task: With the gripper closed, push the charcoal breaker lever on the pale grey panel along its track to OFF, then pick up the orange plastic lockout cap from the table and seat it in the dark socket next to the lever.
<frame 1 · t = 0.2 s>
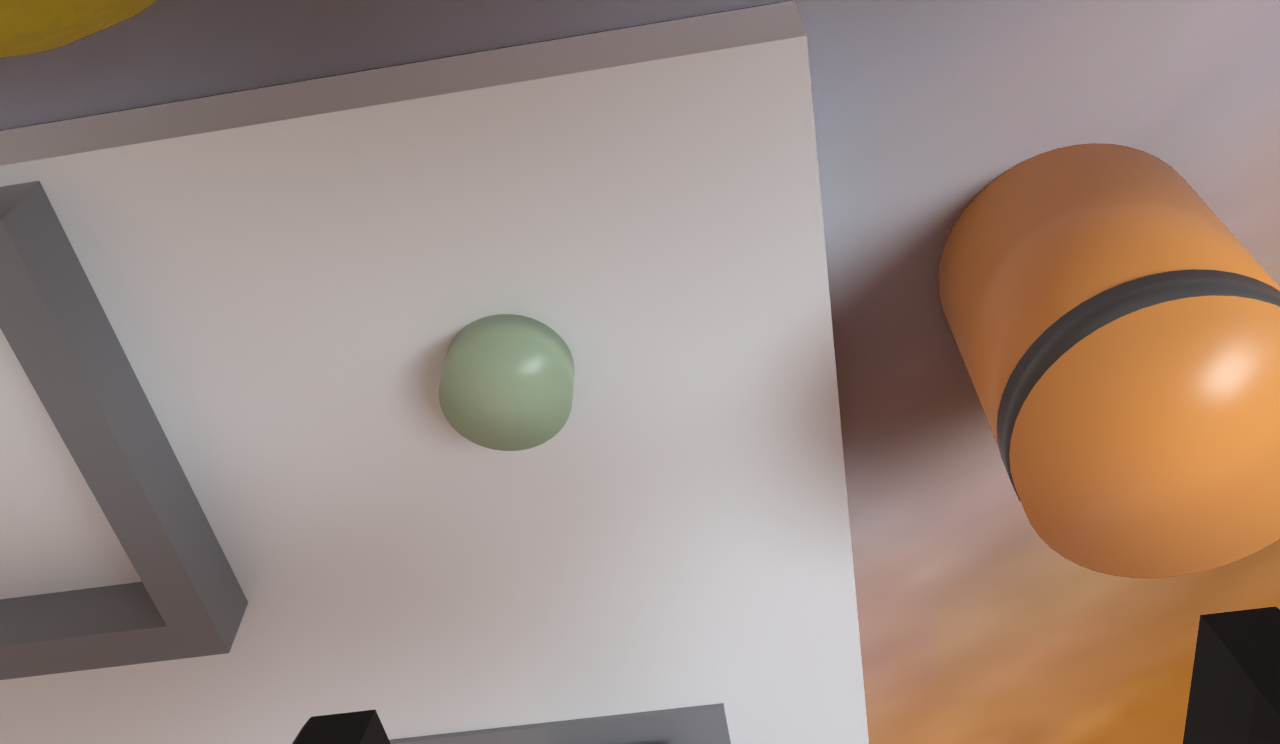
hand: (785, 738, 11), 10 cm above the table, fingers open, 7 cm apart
board: (331, 588, 23), on the table
lockout cap: (1069, 264, 19), on the table
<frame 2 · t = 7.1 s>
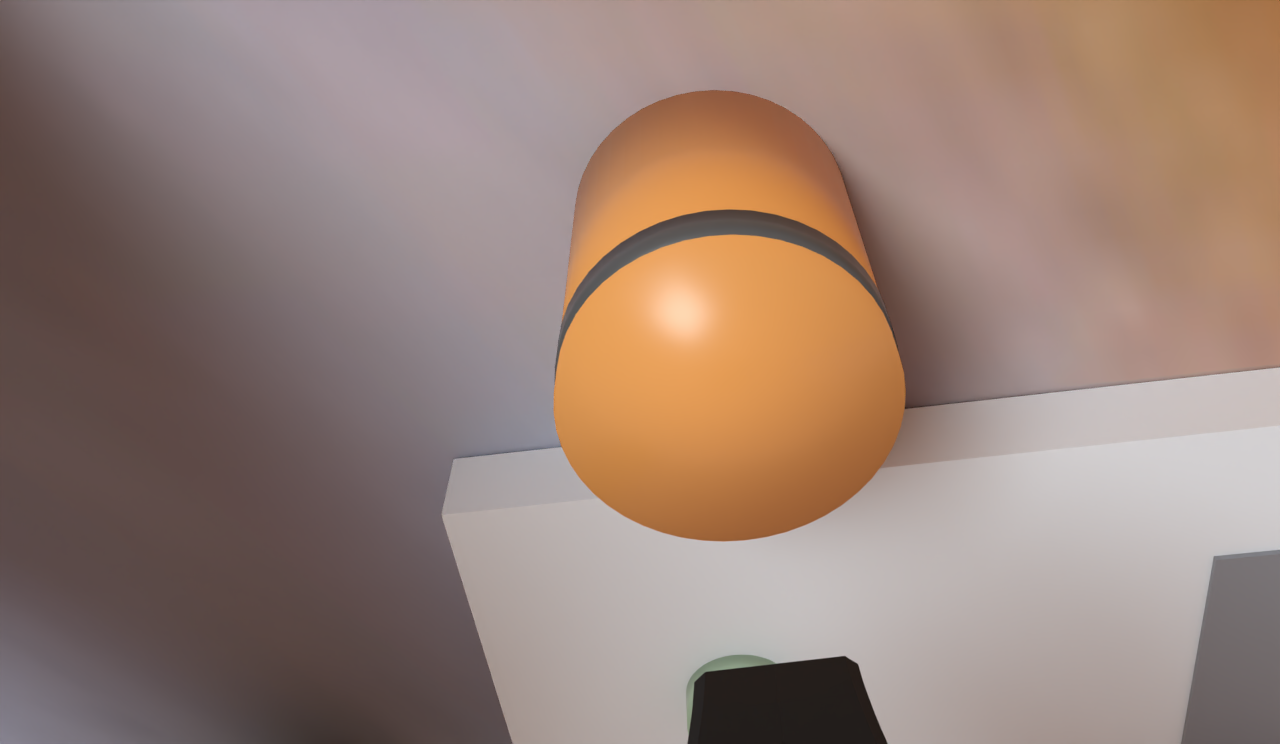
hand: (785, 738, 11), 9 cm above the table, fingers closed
lockout cap: (710, 220, 18), on the table
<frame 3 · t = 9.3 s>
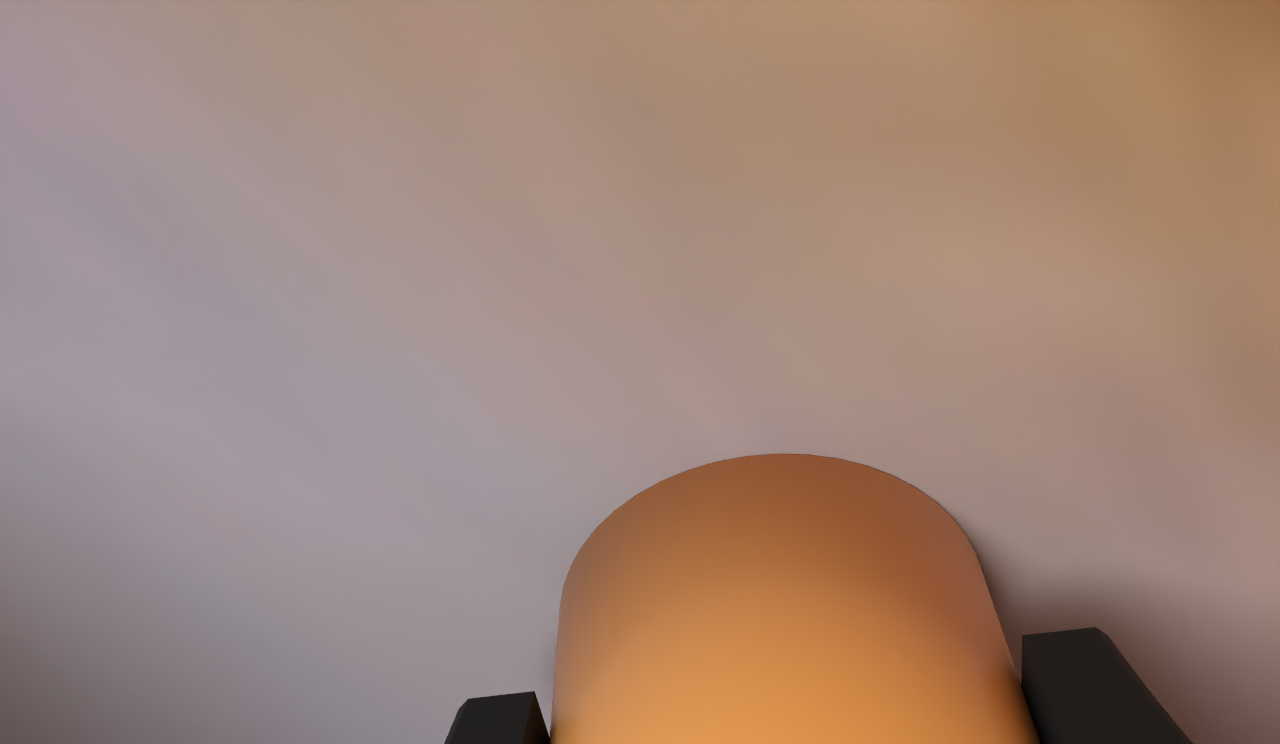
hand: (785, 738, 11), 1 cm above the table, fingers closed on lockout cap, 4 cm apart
lockout cap: (770, 620, 12), on the table, touching gripper
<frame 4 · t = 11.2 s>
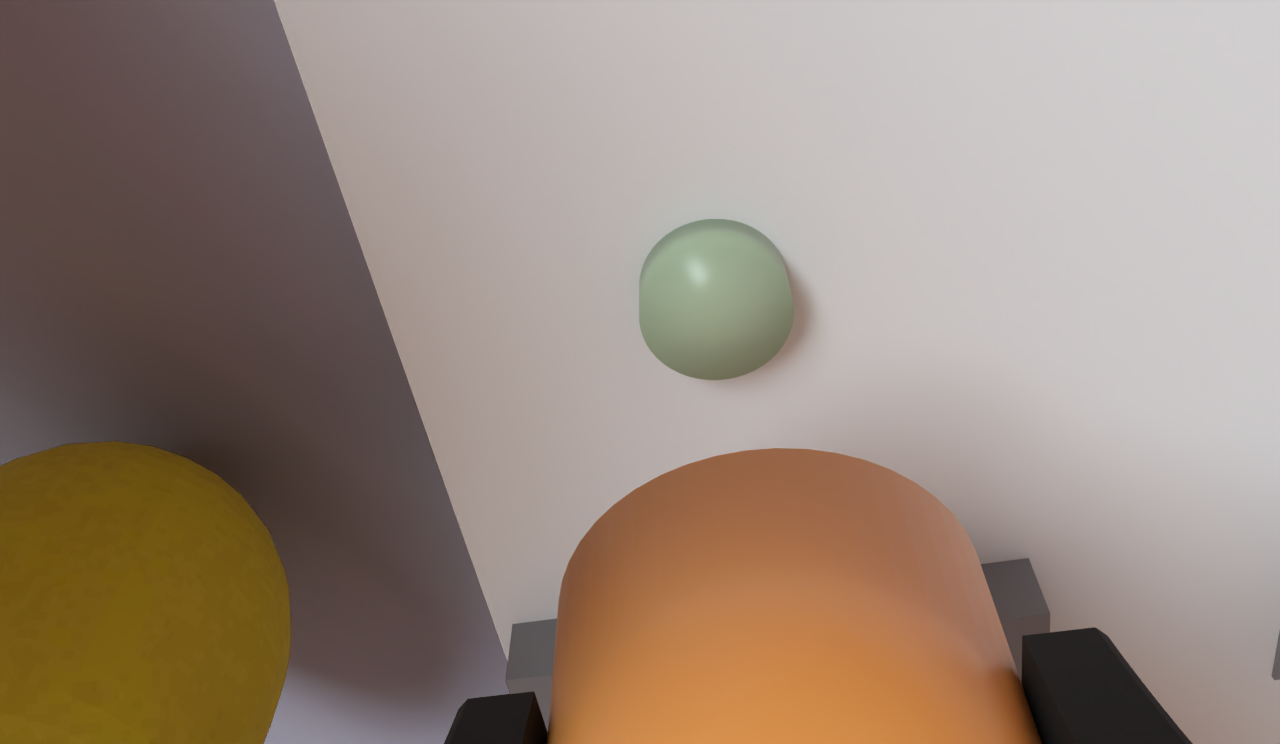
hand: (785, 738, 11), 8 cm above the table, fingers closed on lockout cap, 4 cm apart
lemon: (177, 472, 20), on the table
board: (1084, 448, 19), on the table
lockout cap: (769, 615, 12), point 7 cm above the table, touching gripper
when the fingers open (4 cm above the table, at t = 13.1 s): lockout cap stays where it is, resting on board.
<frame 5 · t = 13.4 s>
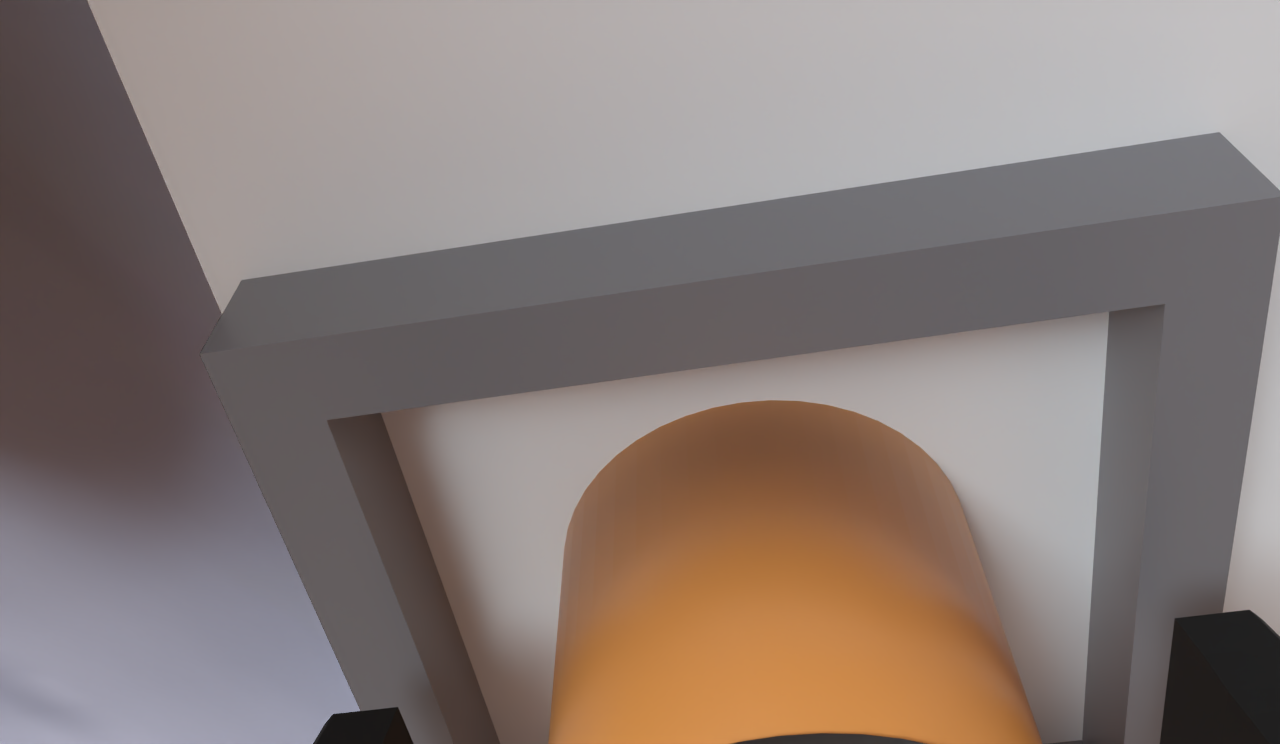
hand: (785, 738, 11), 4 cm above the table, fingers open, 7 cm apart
lockout cap: (764, 563, 12), point 1 cm above the table, touching board
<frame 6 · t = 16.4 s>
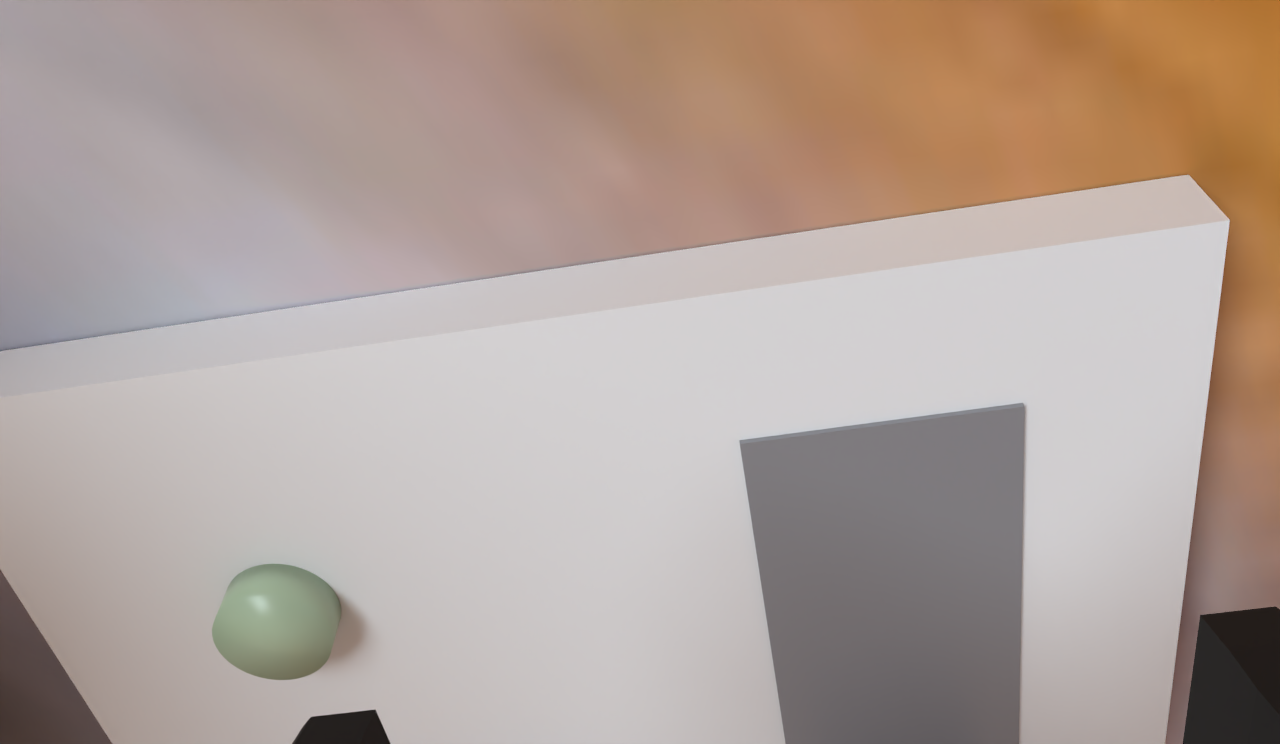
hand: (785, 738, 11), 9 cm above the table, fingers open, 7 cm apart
board: (641, 693, 24), on the table
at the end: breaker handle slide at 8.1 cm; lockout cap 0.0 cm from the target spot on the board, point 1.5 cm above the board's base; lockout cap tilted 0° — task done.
